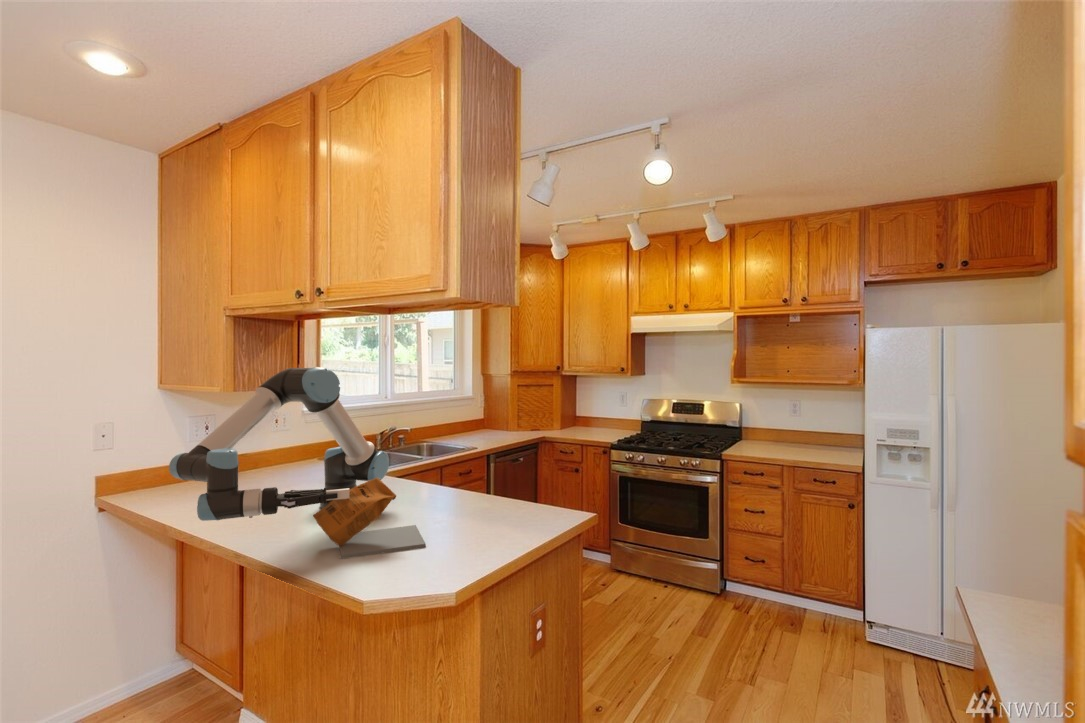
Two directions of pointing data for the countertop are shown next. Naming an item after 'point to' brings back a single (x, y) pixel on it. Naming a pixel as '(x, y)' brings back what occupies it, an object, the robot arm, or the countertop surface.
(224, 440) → the robot arm
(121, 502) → the countertop surface
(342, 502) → the coffee package
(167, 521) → the countertop surface
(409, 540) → the topple mat
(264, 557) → the countertop surface
